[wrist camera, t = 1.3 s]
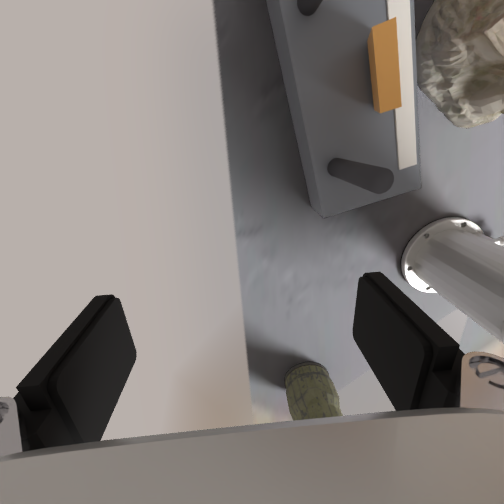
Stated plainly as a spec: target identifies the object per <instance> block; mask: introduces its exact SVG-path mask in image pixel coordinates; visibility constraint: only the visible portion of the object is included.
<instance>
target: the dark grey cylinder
mask: <svg viewBox="0 0 504 504" xmlns="http://www.w3.org/2000/svg"><path fill="white" fill-rule="evenodd" d="M327 170H328V173H329V174H330V175H331V176H334V177H336V178H339V179H341V180H344V181H346V182H348V183H351V184H353V185H356V186H358V187H361V188H363V189H366V190H368V191H371V192H373V193H376V194H382V193H385V192H386V191H388V190H389V189H390V188H391V186H392V185H393V182H394V175H393V172H392V171H391V170H390V169H388V168H383V167H379V166H374V165H369V164H365V163H360V162H355V161H350V160H346V159H341V158H334V159H332V160H331V161H330V162H329V164H328V167H327Z"/></svg>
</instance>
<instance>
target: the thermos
mask: <svg viewBox="0 0 504 504" xmlns="http://www.w3.org/2000/svg"><path fill="white" fill-rule="evenodd" d="M284 381H285V387H286V396H287V401H288V406H289V411H290V414H291V416H292V418H293V420H294V421H295V420H305V419H316V418H326V417H336V416H343V415H342V413H341V410H340V406H339V396H338V394H337V391H336V389H335V386H334V384H333V382H332V380H331V379H330V377H329V374H328V371H327V370H326V368H325V367H324V366H322V365H321V364H318V363H315V362H305V363H300V364H298V365H296V366H294V367H292V368H291V369H290V370H289V371H288V372H287V374H286V375H285V379H284Z"/></svg>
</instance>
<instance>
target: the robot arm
mask: <svg viewBox="0 0 504 504" xmlns="http://www.w3.org/2000/svg"><path fill="white" fill-rule="evenodd" d="M503 246H504V236H502V237H499V238H497V239H493V238H490V237H488V236H485V235H484V233H483V231H482V230H481V228H480V227H479V226H478V225H477V224H475V223H474V222H472V221H469V220H467V219H463V218H460V217H449V218H443V219H440V220H437V221H434V222H432V223H430V224H428V225H427V226H425V227H424V228H422V229H421V230H420V231H419V232H418V233H417V234H416V235H415V236H414V237H413V238H412V239H411V240H410V242H409V243H408V245H407V247H406V248H405V251H404V253H403V256H402V261H401V270H402V273H403V276H404V278H405V280H406V281H407V282H408V283H409V284H410V285H411V286H413V287H414V288H415V289H418V290H420V291H423V292H430V293H435V292H437V293H438V294H439V295H441V296H442V297H443V298H445V299H446V300H447V301H448V302H450V303H451V304H452V305H454V306H455V307H456V308H457V309H459V310H460V311H461V312H463V313H464V314H465V315H467V316H468V317H469V318H470V319H472V320H473V321H474V322H476V323H477V324H478V325H479V326H481V327H482V328H483V329H485V330H486V331H487V332H489V333H490V334H491V335H492V336H494V337H495V338H496V339H498V340H499V341H500V342H502V343H503V344H504V247H503ZM353 337H354V340H355V342H356V343H357V345H358V347H359V349H360V350H361V352H362V354H363V355H364V357H365V359H366V360H367V362H368V364H369V366H370V367H371V369H372V371H373V372H374V374H375V375H376V377H377V379H378V381H379V382H380V384H381V386H382V388H383V389H384V391H385V393H386V394H387V396H388V398H389V399H390V401H391V403H392V405H393V406H394V408H395V410H396V411H391V412H379V413H368V414H357V415H347V416H336V417H326V418H316V419H305V420H295V421H285V422H275V423H265V424H255V425H245V426H236V427H226V428H216V429H207V430H197V431H187V432H178V433H170V434H160V435H150V436H141V437H133V438H123V439H114V440H104V441H100V440H101V438H102V436H103V433H104V431H105V429H106V427H107V424H108V422H109V420H110V417H111V415H112V413H113V411H114V408H115V406H116V404H117V402H118V399H119V397H120V395H121V392H122V390H123V388H124V386H125V383H126V381H127V379H128V377H129V374H130V372H131V369H132V367H133V365H134V363H135V360H136V349H135V346H134V343H133V339H132V336H131V333H130V330H129V327H128V324H127V321H126V317H125V314H124V311H123V308H122V305H121V302H120V299H119V298H115V297H114V295H101V296H95V297H94V298H93V299H92V301H91V302H90V303H89V304H88V305H87V306H86V307H85V309H84V310H83V311H82V312H81V313H80V315H78V317H77V318H76V319H75V320H74V321H73V322H72V323H71V325H70V326H69V327H68V328H67V330H65V332H64V333H63V334H62V335H61V336H60V337H59V339H58V340H57V341H56V342H55V343H54V344H53V345H52V347H51V348H50V349H49V350H48V351H47V352H46V354H45V355H44V356H43V357H42V358H41V359H40V360H39V362H38V363H37V364H36V365H35V366H34V367H33V368H32V370H31V371H30V372H29V373H28V374H27V375H26V376H25V378H24V379H23V380H22V381H21V382H20V383H19V385H18V386H17V387H16V388H17V390H18V391H19V392H18V393H17V395H16V396H15V397H14V398H10V397H0V504H504V358H501V357H499V356H496V355H494V354H490V353H485V352H469V353H467V354H464V353H463V352H462V351H461V350H460V349H459V346H460V345H459V344H458V343H457V342H456V341H455V340H454V339H453V338H452V337H450V336H449V335H448V334H447V333H446V332H445V331H444V330H443V329H441V327H440V326H439V325H437V324H436V323H435V322H434V321H433V320H432V319H431V318H430V317H429V316H428V315H427V314H426V313H425V312H423V311H422V310H421V309H420V308H419V307H418V306H417V305H416V304H415V303H414V302H413V301H412V300H411V299H409V298H408V297H407V296H406V295H405V294H404V293H403V292H402V291H401V290H400V289H399V288H398V287H397V286H395V285H394V284H393V283H392V282H391V281H390V280H389V279H388V278H387V277H386V276H385V275H384V274H383V273H381V272H371V273H365V274H364V275H363V277H360V278H359V282H358V290H357V298H356V307H355V315H354V323H353Z"/></svg>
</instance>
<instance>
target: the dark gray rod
mask: <svg viewBox="0 0 504 504" xmlns="http://www.w3.org/2000/svg"><path fill="white" fill-rule="evenodd" d="M322 1H323V0H297V6H298V9H299V11H300V12H301V13H302V14H303V15H305V16H310V15H312V14H313V13H315V11H316V10H317V8H318V7H319V5H320V4H321V2H322Z"/></svg>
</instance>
